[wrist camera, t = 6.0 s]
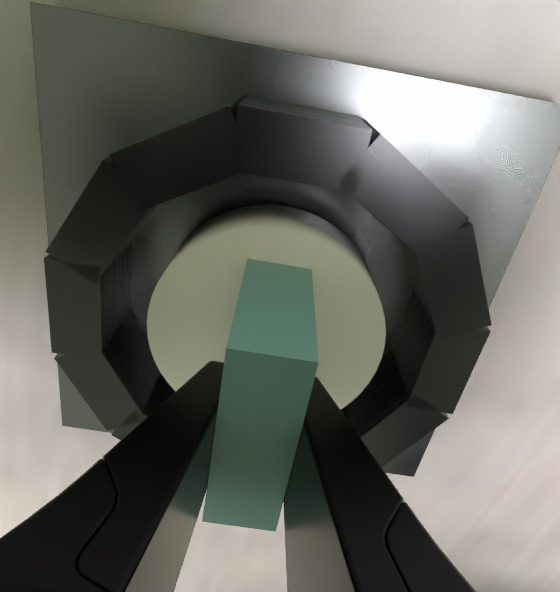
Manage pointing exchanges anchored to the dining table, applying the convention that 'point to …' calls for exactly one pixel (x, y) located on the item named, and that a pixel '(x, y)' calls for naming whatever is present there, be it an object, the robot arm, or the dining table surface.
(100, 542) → the robot arm
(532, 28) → the dining table surface
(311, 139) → the square ring flange
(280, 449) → the cap
